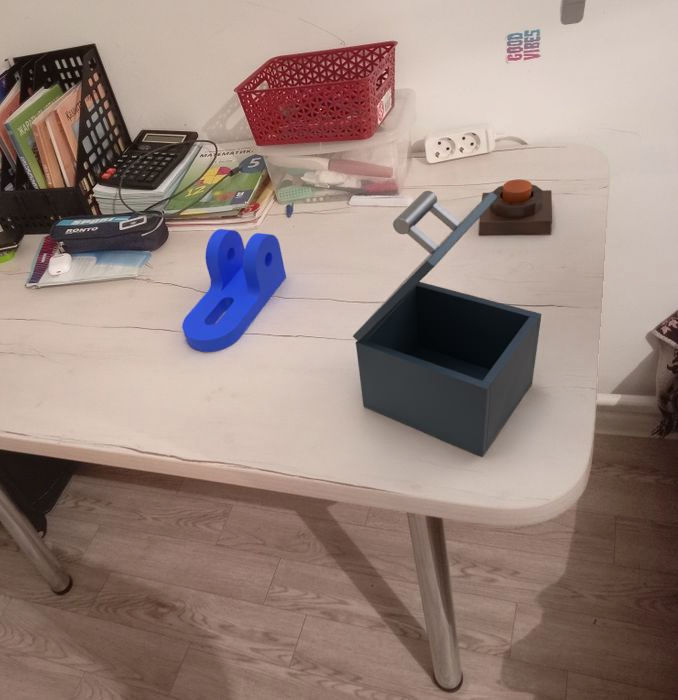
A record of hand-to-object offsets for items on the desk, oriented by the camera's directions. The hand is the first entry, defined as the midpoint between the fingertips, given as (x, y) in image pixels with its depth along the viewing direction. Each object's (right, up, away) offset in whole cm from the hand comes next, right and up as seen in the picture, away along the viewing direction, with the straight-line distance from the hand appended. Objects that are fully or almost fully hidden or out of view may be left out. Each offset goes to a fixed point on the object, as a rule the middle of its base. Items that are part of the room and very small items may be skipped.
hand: (570, 18), depth 57 cm
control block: (+10, -12, +31) cm, 35 cm away
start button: (+9, -9, +29) cm, 32 cm away
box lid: (-13, -23, +2) cm, 27 cm away
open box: (-8, -36, +11) cm, 38 cm away
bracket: (-30, -25, +32) cm, 50 cm away
